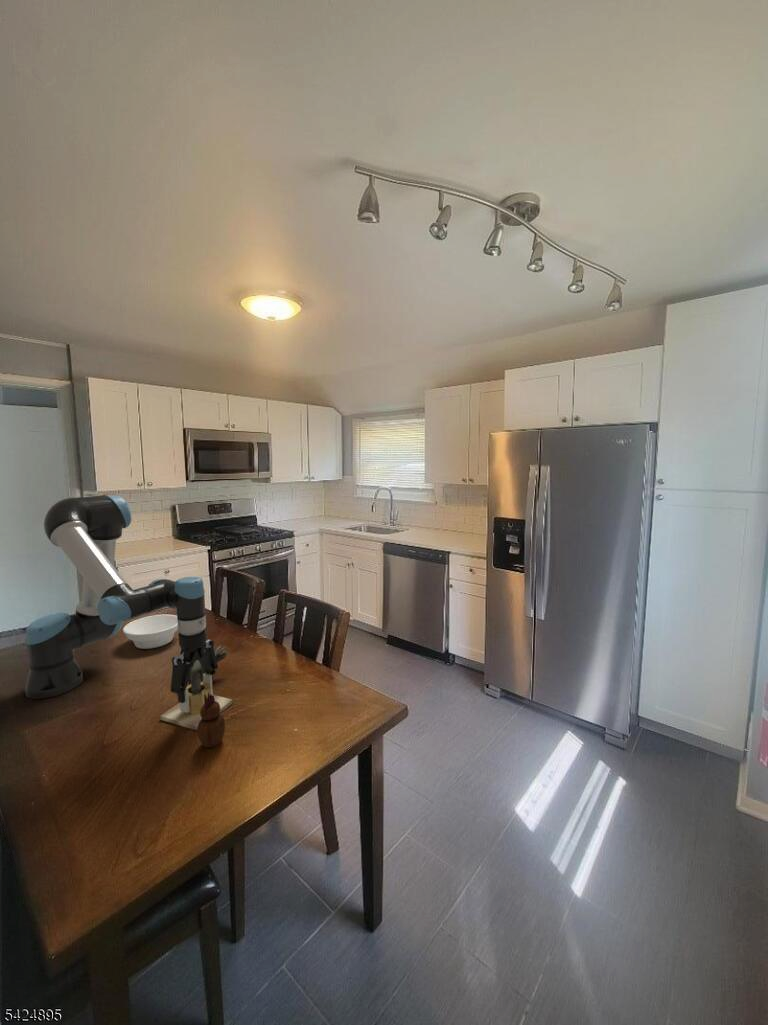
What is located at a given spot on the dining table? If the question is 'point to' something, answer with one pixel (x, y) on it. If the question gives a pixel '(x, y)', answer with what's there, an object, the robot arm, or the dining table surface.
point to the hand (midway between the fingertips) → (197, 702)
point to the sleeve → (197, 698)
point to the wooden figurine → (210, 723)
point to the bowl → (151, 630)
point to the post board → (192, 720)
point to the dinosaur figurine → (198, 667)
